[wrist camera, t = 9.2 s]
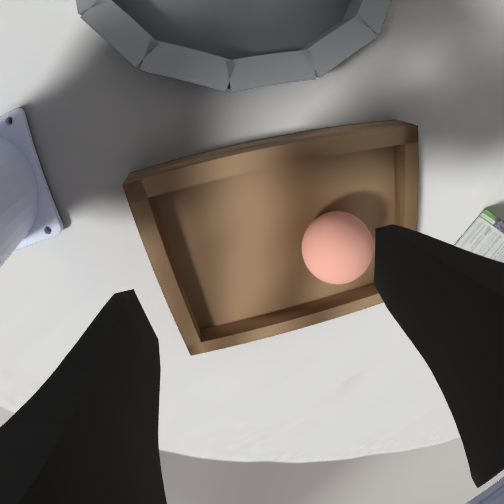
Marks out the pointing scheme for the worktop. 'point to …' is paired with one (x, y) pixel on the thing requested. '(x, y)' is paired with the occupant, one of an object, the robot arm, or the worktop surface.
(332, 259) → the ball
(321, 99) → the worktop surface
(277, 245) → the tray
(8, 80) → the worktop surface
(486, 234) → the syrup box
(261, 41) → the bowl
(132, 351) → the robot arm
